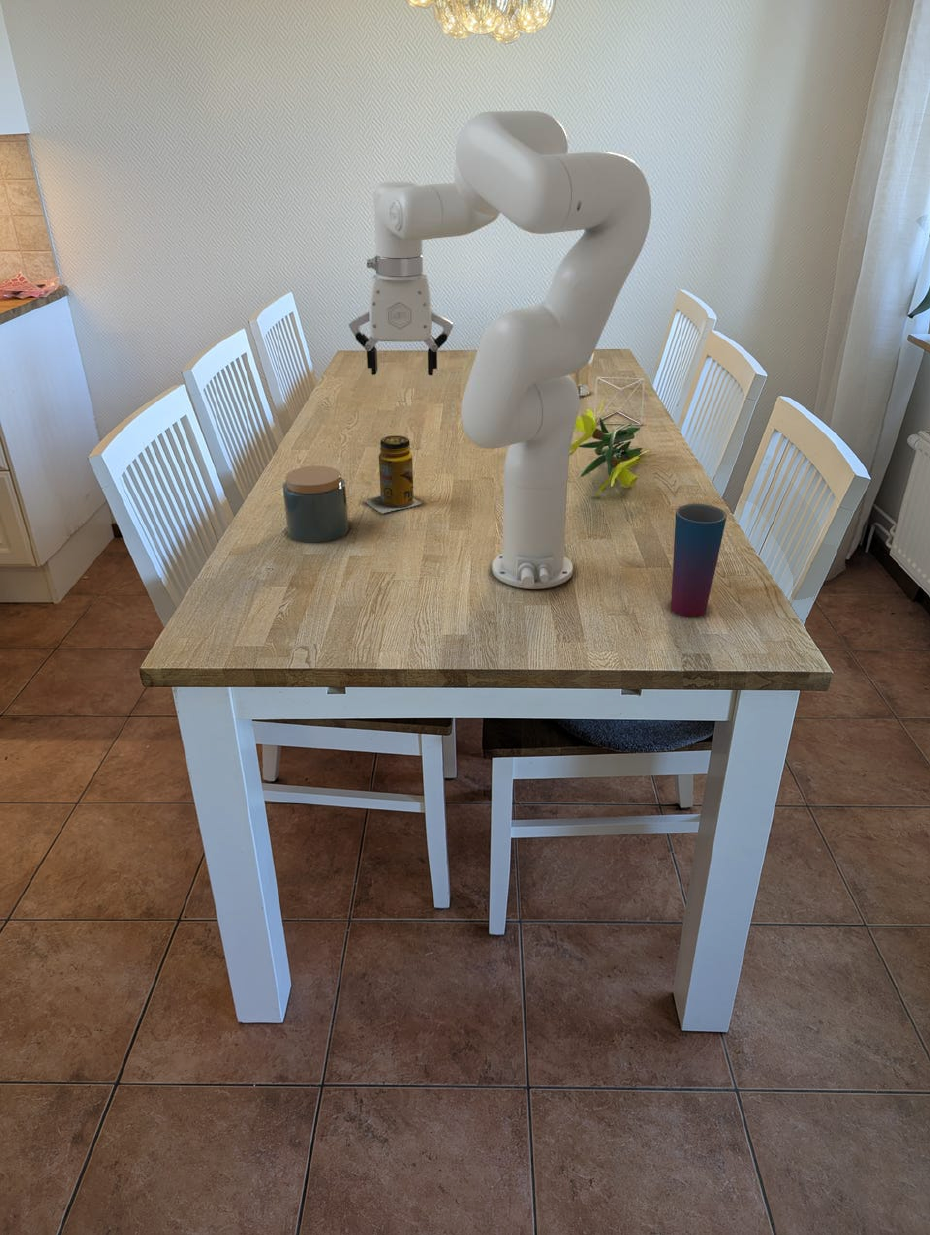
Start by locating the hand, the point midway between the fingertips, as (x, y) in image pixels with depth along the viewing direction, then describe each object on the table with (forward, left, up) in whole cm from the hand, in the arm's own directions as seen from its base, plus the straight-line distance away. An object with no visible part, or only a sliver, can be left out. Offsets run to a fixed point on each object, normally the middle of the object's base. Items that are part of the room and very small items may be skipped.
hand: (402, 372), depth 156 cm
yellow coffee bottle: (0, +3, -24) cm, 24 cm away
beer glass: (+71, -38, -24) cm, 84 cm away
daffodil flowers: (+13, -38, -24) cm, 47 cm away
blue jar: (-12, +15, -24) cm, 30 cm away
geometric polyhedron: (+49, -45, -24) cm, 71 cm away
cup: (-40, -43, -24) cm, 64 cm away
